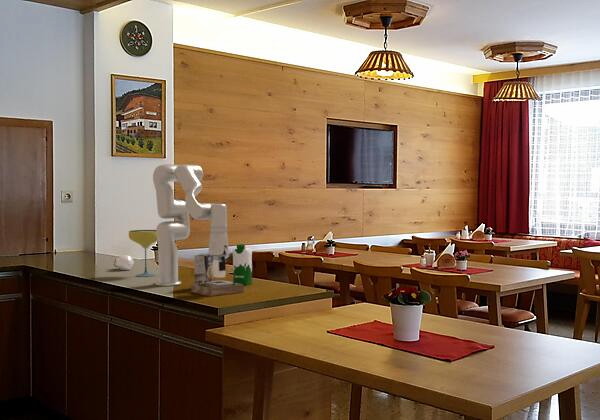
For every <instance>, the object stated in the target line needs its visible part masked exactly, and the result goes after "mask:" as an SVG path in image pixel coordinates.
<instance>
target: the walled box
mask: <svg viewBox="0 0 600 420" xmlns="http://www.w3.org/2000/svg"><path fill="white" fill-rule="evenodd" d="M190 287H191V293H193V294H198V295H203V296H207V297H216V296H217V295H218V296H224V295H225V294H226V295H232V294H238V293H239V294H240V293H244V292H245V288H244V287H245V286H244V285H243V284H237V283H233V286H226V287H217V288H207V287H206V283H204V284H195V283H194V284H191V286H190ZM218 296H217V297H218Z"/></svg>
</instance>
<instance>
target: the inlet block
mask: <svg viewBox="0 0 600 420" xmlns="http://www.w3.org/2000/svg"><path fill="white" fill-rule="evenodd" d="M226 286H233V281H228V280H223V279H222V280H213V281H211V282H206V287H207V288H217V287H226Z"/></svg>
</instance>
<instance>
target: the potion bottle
mask: <svg viewBox="0 0 600 420" xmlns="http://www.w3.org/2000/svg"><path fill="white" fill-rule="evenodd" d="M113 266H114V267H116V268H117V267H118V268H120V269H119V270H121V269H122V271H123V270H125V271H129V270H132V269H133V268H132V267H133V266H134V259H133V257H132V256H131V255H129V254H122V255H121V256H119V257H118V258H115V259H114V263H113ZM118 268H117V269H118Z"/></svg>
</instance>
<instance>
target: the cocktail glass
mask: <svg viewBox="0 0 600 420" xmlns="http://www.w3.org/2000/svg"><path fill="white" fill-rule="evenodd" d="M128 237H129V239H130V241H132V242H134V243H136V244H138V245H140V246H141V247H142V248H143V249H144V272H143V273H139V274H136V275H135V277H137V276H138V277H139V278H150V277H149V276H152V277H156V276H155V275H156V274H154V273H150V272H148V269H147V249H148V248H149V247H150V246H152V244H154V243H157V242H158V239H157V235H156V229H138V230H137V229H136V230H135V229H134V230H133V229H132V230H129V231H128Z"/></svg>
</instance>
